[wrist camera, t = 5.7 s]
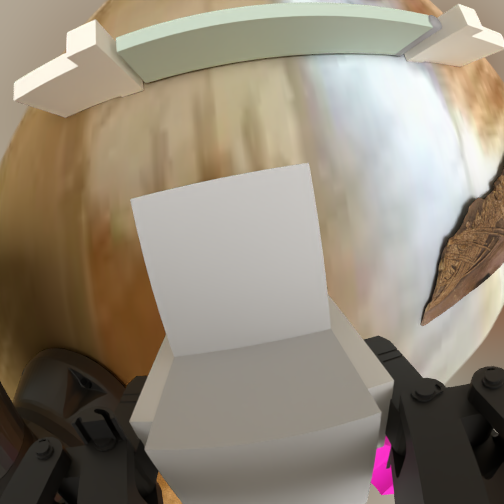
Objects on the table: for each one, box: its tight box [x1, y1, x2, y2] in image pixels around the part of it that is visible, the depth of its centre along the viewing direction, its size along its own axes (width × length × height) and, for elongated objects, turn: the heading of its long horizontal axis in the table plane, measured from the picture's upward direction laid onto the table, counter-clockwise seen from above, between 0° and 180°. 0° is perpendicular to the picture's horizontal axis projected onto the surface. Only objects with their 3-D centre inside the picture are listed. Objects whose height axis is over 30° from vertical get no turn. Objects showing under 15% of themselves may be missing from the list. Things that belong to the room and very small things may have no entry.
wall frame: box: [14, 4, 504, 118], centre depth 17 cm, size 41×2×10 cm, turn 101°
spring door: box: [116, 3, 442, 83], centre depth 17 cm, size 24×3×7 cm, turn 101°
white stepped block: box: [130, 163, 381, 504], centre depth 9 cm, size 5×12×8 cm, turn 10°
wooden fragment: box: [421, 168, 504, 326], centre depth 25 cm, size 26×11×1 cm, turn 132°
